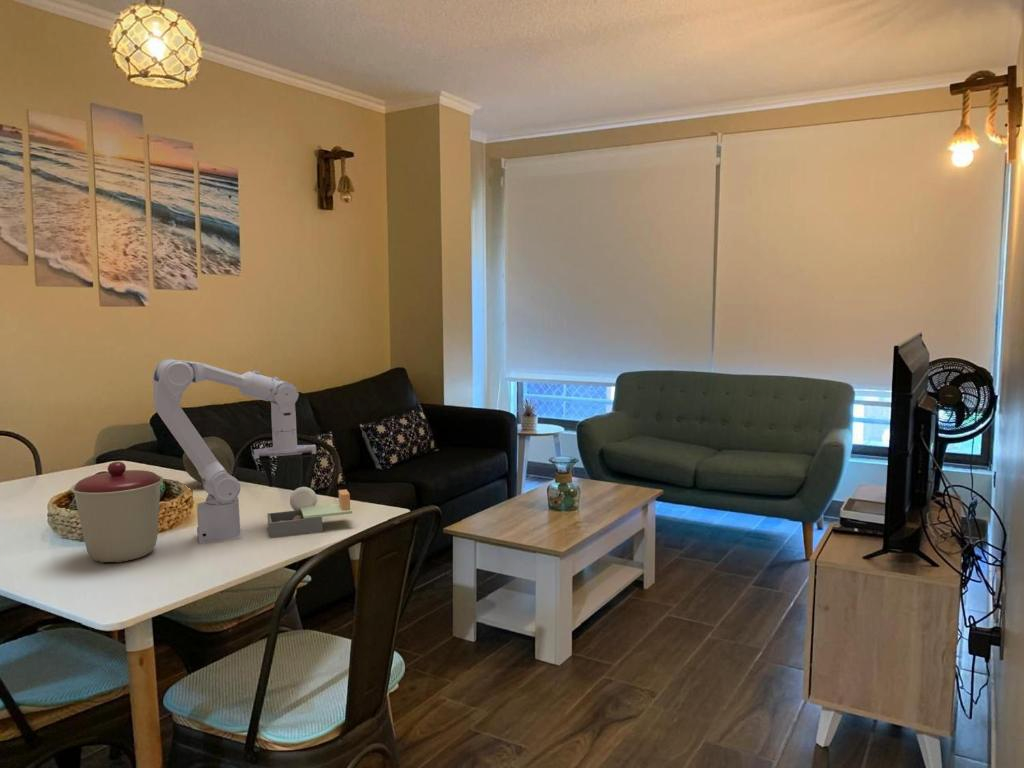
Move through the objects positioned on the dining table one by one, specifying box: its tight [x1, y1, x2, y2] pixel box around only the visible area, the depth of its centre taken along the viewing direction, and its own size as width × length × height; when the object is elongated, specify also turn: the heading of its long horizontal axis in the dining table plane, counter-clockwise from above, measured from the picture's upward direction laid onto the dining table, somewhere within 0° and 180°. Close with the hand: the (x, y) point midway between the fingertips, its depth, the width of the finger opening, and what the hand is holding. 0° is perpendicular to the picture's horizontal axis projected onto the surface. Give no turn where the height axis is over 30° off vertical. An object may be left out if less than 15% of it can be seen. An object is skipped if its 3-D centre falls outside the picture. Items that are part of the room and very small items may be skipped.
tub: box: [266, 510, 324, 539], centre depth 185 cm, size 12×9×4 cm
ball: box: [293, 515, 304, 520], centre depth 187 cm, size 3×3×3 cm
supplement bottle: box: [289, 486, 318, 511], centre depth 196 cm, size 7×7×13 cm
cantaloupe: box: [182, 436, 235, 485], centre depth 232 cm, size 14×14×15 cm
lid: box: [300, 489, 353, 519], centre depth 187 cm, size 11×8×4 cm
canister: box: [69, 461, 164, 563], centre depth 168 cm, size 18×18×21 cm
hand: (287, 484), depth 189 cm, fingers open, 7 cm apart
